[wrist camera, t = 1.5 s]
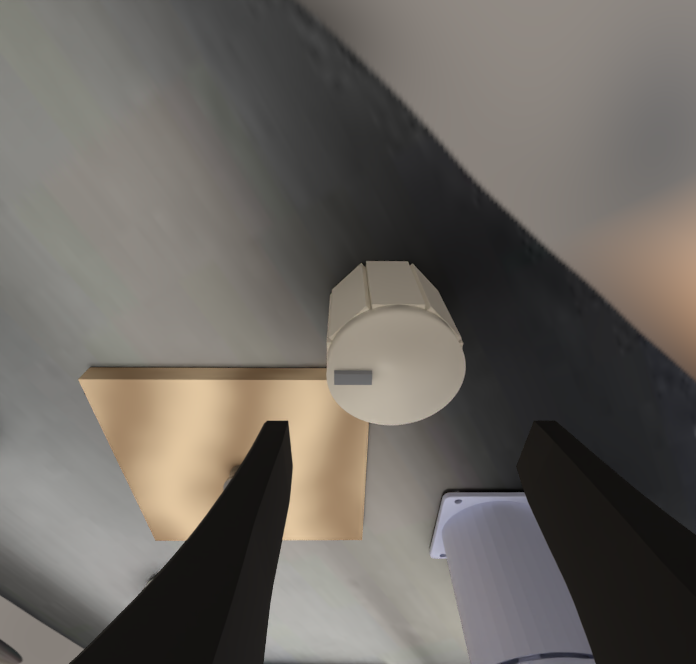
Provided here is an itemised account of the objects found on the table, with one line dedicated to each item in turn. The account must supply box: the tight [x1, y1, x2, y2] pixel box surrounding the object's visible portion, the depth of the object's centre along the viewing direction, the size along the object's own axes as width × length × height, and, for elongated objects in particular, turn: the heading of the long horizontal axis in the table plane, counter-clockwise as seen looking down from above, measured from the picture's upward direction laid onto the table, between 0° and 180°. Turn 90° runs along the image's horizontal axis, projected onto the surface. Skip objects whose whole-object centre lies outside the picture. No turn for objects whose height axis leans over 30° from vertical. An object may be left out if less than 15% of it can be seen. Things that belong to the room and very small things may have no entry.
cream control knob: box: [326, 261, 466, 425], centre depth 16 cm, size 5×5×5 cm
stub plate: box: [78, 367, 369, 541], centre depth 23 cm, size 15×15×1 cm
